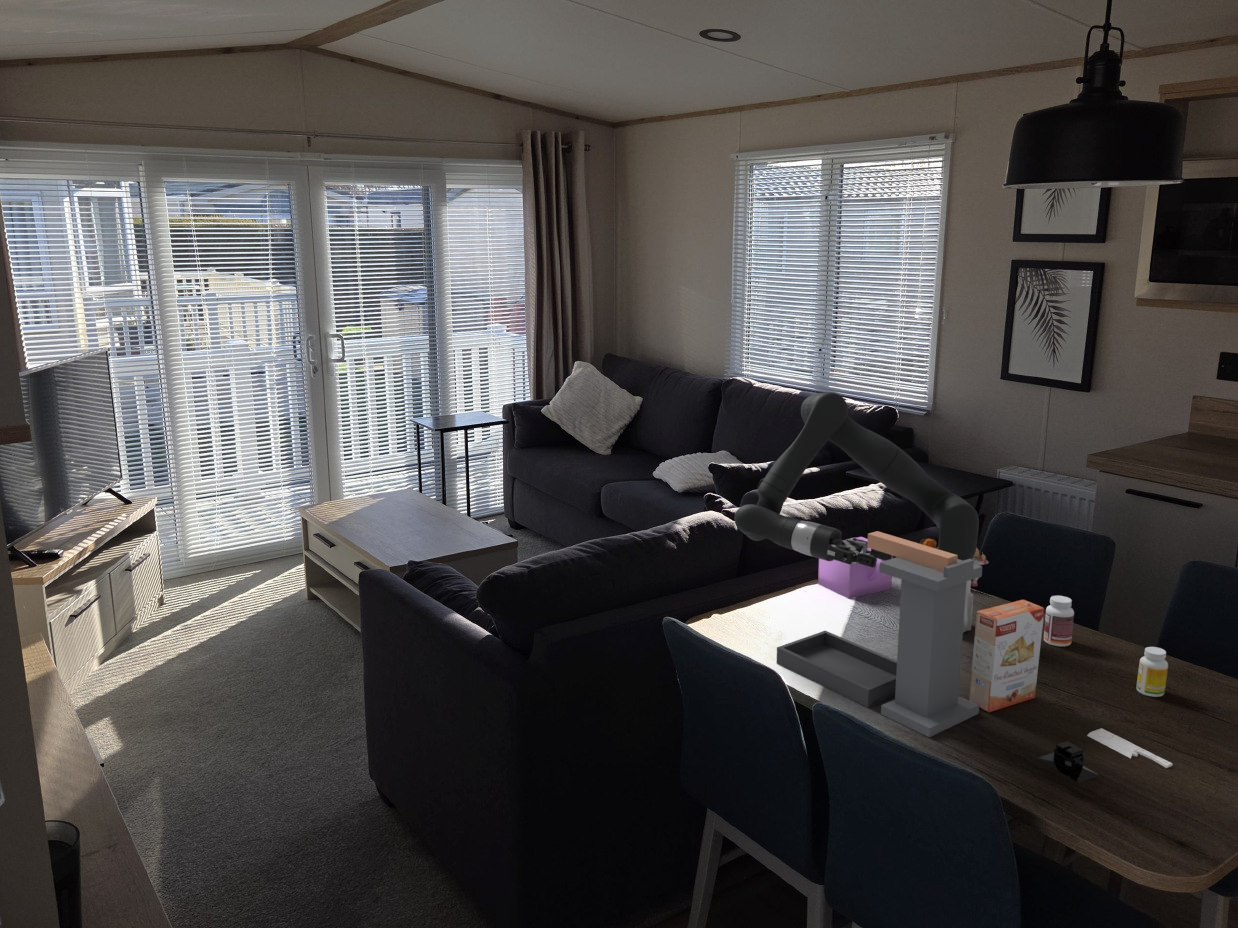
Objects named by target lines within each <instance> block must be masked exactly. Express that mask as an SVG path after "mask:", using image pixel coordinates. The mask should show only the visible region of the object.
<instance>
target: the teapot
mask: <svg viewBox="0 0 1238 928" xmlns="http://www.w3.org/2000/svg"><path fill="white" fill-rule="evenodd" d="M852 538H853V537H851V538H850V539H852ZM855 538H856V539H860V540H863V541H867V542H868V538H866V537H863V536H858V537H855ZM867 550H868V551H871V548H867ZM860 553H861V552H860ZM893 558H894V556H893V555H892V559H893ZM883 561H885V560H882V559H878V558H877V563H876V566H875V567H873V568H872V567H869V566H866V565H862V564H859V563H858V564H854V563H852V564H846V563H843V562H840V561H837V560H833V561H826V560H822V559H819V558H818V577H817V578H818V580H817V582H818V584H817V585H819V586H821V587H823V588H825V589H827V590H829V591H831V592H833V593H835V594H838V595H840V596H842V597H844V598H846V599H847V600H849V599H854V598H859V597H863V596H867V595H871V594H874V593H875V594H877V593H880V592H883V591H888V590H892V587H893V586H892V581H893V576H890V575H887V574H884V573H881V572H879V571H880V562H883Z"/></svg>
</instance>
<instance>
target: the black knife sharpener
mask: <svg viewBox="0 0 1238 928" xmlns="http://www.w3.org/2000/svg"><path fill="white" fill-rule="evenodd" d="M1055 746H1056V747H1055V748H1054V751H1053V752H1051V753H1047V754H1046V755H1042V756H1038V757H1036V760H1039V761H1040V762H1041V763H1044V764H1046V765H1047V766H1049V767H1050V768H1052V769H1054V770H1056V771H1058V772H1059V773H1061V774H1062V775H1064V776H1066V777H1068V778H1069V779H1071V780H1073V781H1074V782H1076V783H1082V782H1085V781H1088V780H1090V779H1093V778H1096V777H1098V776H1100V774H1098V773H1097V772H1095V771H1093V770H1091V769H1089V768H1088V767H1086V766H1084V760H1085V754H1084V749H1082V748H1081V747H1079V746H1077V745H1075V743H1074V744H1073V743H1072V742H1070V741H1068V740H1066V741H1063V742H1060V743H1057V744H1056V745H1055Z"/></svg>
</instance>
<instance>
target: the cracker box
mask: <svg viewBox="0 0 1238 928" xmlns="http://www.w3.org/2000/svg"><path fill="white" fill-rule="evenodd" d="M1044 619H1045V607H1043V606H1040V605H1038V604H1036V603H1033V602H1031V601H1028V600H1026V599H1020V600H1016V601H1013V602H1008V603H1003V604H1001V605H997V606H996V605H995V606H992V607H989V608H985V609H980V610H977V611H976V618H975V631H974V641H973V651H972V652H973V653H972V662H971V663H972V664H971V672H970V673H971V675H970V687H969V696H968V700H969V701H971V702H974V703H976V704H978V705H979V709H981V710H983V711H985V712H987V713H992V712H995V711H998V710H1002V709H1004V708H1007V707H1011V706H1013V705H1017V704H1020V703H1024V702H1026V701H1029V700H1032V699H1035V697H1036V689H1037V679H1038V673H1039V672H1038V670H1039V662H1040V661H1039V660H1040V655H1041V653H1040V652H1041V644H1042V636H1043V635H1042V634H1043V627H1044V626H1043V625H1044Z"/></svg>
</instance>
